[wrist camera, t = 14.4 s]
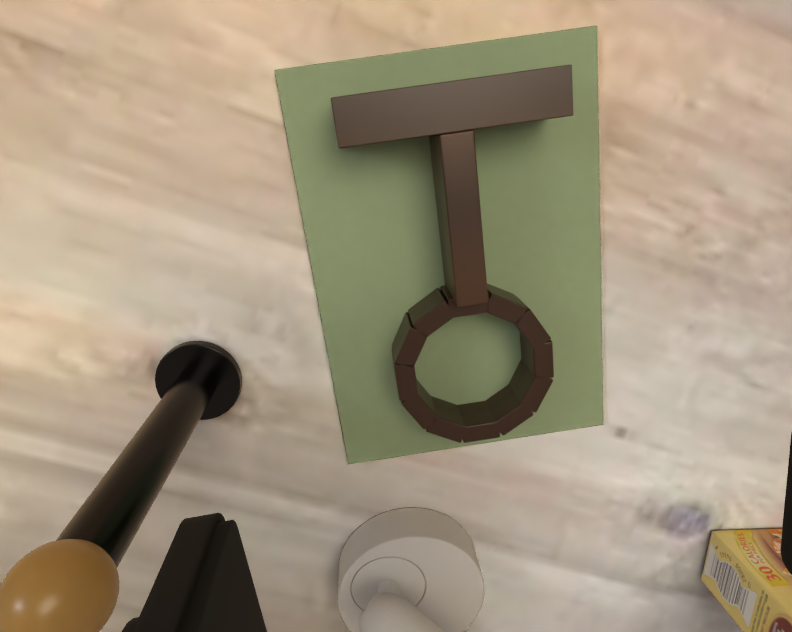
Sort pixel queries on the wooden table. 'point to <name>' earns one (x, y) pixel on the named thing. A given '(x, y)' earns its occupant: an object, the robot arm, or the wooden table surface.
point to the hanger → (462, 231)
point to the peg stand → (118, 502)
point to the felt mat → (421, 249)
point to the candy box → (750, 578)
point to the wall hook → (409, 574)
